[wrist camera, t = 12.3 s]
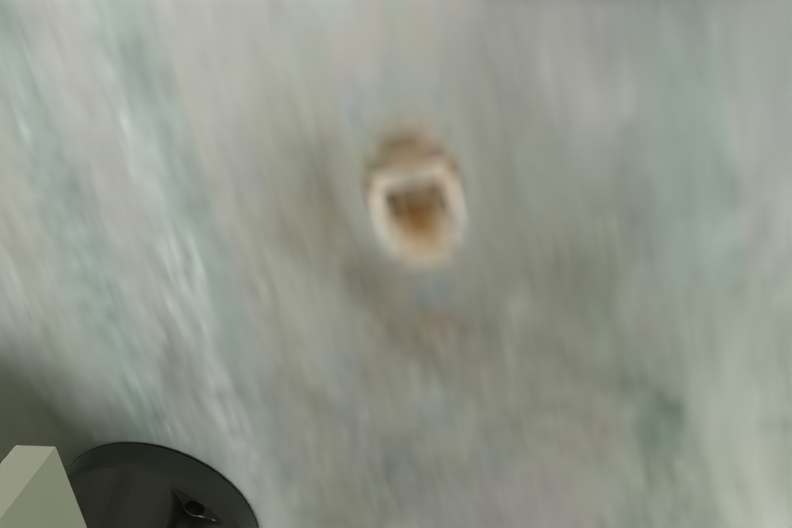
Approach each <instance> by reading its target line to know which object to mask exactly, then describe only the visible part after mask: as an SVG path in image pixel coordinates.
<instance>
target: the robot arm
mask: <svg viewBox="0 0 792 528" xmlns="http://www.w3.org/2000/svg"><path fill="white" fill-rule="evenodd" d="M0 528H257V524H256V521H255V518H254V516H253V514H252V512H251V510H250V508H249V507H248V505H247V504H246V502H245V501H244V499H243V498H242V497H241V495H240V494H239V493H238V492H237V491H236V490H235V489H234V488H233V487H232V486H231V485H230V484H229V483H228V482H227V481H226V480H224V479H223V478H222V477H221V476H219V475H218V474H217V473H215V472H214V471H212V470H211V469H209V468H208V467H206V466H204V465H203V464H201V463H199V462H197V461H195V460H193V459H191V458H189V457H187V456H184V455H182V454H179V453H177V452H174V451H171V450H167V449H164V448H160V447H155V446H150V445H143V444H130V443H126V444H112V445H106V446H102V447H99V448H96V449H93V450H90V451H89V452H87V453H85V454H83V455H82V456H80V457H79V458H78V459H76V460H75V461H74V462H73V463H72V465H71V466H70V467H69V469H68V470H67V471H66V472H65V470H64V467H63V464H62V462H61V459H60V457H59V454H58V452H57V449H56V447H52V446H24V445H16V446H15V447H14V448H13V449H12V450H11V452H10V453H9V454H8V455H7V456H6V458H5V459H4V460H3V461H2V462H1V463H0Z"/></svg>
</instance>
